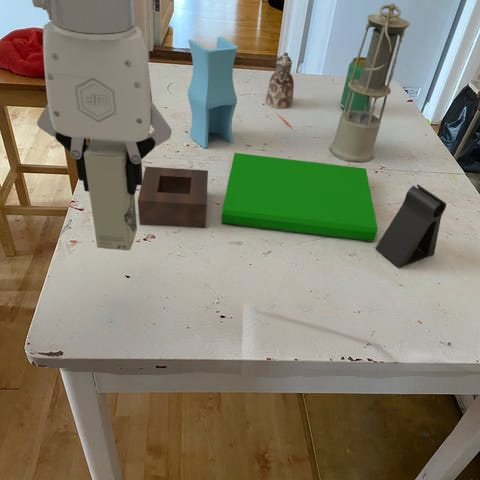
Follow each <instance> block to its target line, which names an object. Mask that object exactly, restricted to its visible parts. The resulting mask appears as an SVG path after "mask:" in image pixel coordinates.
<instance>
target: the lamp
mask: <svg viewBox="0 0 480 480" xmlns="http://www.w3.org/2000/svg"><path fill="white" fill-rule="evenodd" d="M387 9H388V10H387ZM384 10H387V12H385V11H384ZM394 11H396V12H397V14H395V12H394ZM401 15H402V10H401V9H400V7H399V6H397V5H396V4H395V3H390V4H385V5H382V6H380V8H379V13H375V14H369V15H367V24H366V26H365V32H364V35H363V39H362V42H361V45H360V47H359V50H358V53H357V56H356V57H357V59H356V63H355V68H354V71H353V76H352V78H351V81H350V82H349V83H348V86H349V88H350V91H349V95H348V98H347V102H346V106H345V109H344V110H343V111H342V113H341V114H340V116H339V121H338V125H337V128H336V132H335V134H334V139H333V142H332V143H331V144H330V146H329V149H330V151H331V154H333V155H334V156H335V157H337V158H339V159H340V160H343V161H349V162H367V161H368V162H369V161H371V160H372V159H373V158H374V155H375V151H374V148H375V144H376V142H377V138H378V134H379V130H380V127H381V123H382V118H383V114H384V111H385V106H386V102H387V98H388V96H389V95H390V94H391V93H392V90H391V88H390V83H391V81H392V79H393V76H394V72H395V67H396V65H397V58H398V53H399V50H400V47H401V44H402V42H403V38H404V35H405V31H406V29H407V28H409V27H410V25H411V24H410V22H409V21H408V20H406V19H404V18H401ZM370 28H373V29H372V35H371V40H370V43H369V45H368V46H369V47H368V50H367V54H366V56H365V57H366V61H365V65H364V67H363V70H362V73H361V76H360V79H359V80H353V79H354V76H355V72H356V68H357V65H358V61H359V58H360V57H361V55H362V51H363V48H364V45H365V41H366V38H367V35H368V31H369V29H370ZM353 42H355V40H353ZM397 42H398V44H397ZM396 46H397V48H396ZM395 50H396V51H395ZM394 53H395V56H394ZM393 57H394V59H393ZM392 60H393V61H392ZM391 64H392V65H391ZM390 67H391V68H390ZM389 70H390V73H389ZM388 74H389V76H388ZM387 78H388V79H387ZM386 81H387V84H386ZM352 91H353V94H352V99H351V102H350V105H349V109H348V111H347V107H348V104H349V100H350V96H351V92H352ZM354 93H359V94H361V95H368V98H367V102H366V106H365V110H364V111H355V110H351V106H352V102H353V96H354ZM370 96H371V97H372V99H373V98H374V99H373V104H372V109H371V111H370V110H367V111H366V109H367V106H368V103H369V99H370ZM380 98H383V101H382V106H381V109H380V113H379V116H376V115H374V112H375V109H376V107H375V106H376V103H377V100H378V99H380Z"/></svg>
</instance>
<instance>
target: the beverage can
mask: <svg viewBox="0 0 480 480" xmlns="http://www.w3.org/2000/svg"><path fill="white" fill-rule="evenodd" d="M366 57H367V56H365V57H364V56H360V58H359V61H358V65H357V68H356V72H355V76H354V79H353V80H359V79H360V76H361V73H362V70H363V67H364V65H365V61H366ZM356 59H357V56H356V57H353V58H352V61H350V63H349V65H348V68H347V75H346V78H345V82H344V85H343V91H342V95H341V99H340V106H341V110H343V111H344V109H345V106H346V102H347V98H348V95H349V91H350V88H349V86H348V83H349V82H350V81H351V78H352V76H353V71H354V68H355V63H356ZM352 94H353V91H352V92H351V96H350V100H349V104H348V107H347V111H348V109H349V105H350V102H351V99H352ZM367 98H368V95H361V94H359V93H354V96H353V102H352V106H351V110H355V111H364V110H365V106H366V102H367ZM372 101H373V97H371V96H370V99H369V103H368V106H367V109H366V111H369V109H370V108H371V104H372ZM341 104H342V105H343V106H344V107H343V106H342V105H341Z"/></svg>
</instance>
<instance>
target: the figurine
mask: <svg viewBox="0 0 480 480" xmlns="http://www.w3.org/2000/svg"><path fill="white" fill-rule="evenodd" d="M275 64H276V65H275V71H274V73H273V74H271V76H270V79H269V82H268V83H269V84H268V87H267V92H266V96H265V103H266V104H267V105H268V106H270V108H273V109H274V108H275V109H279V110H280V109H289V108H291V106H292V105H293V100H294V88H295V87H294V86H295V81H294V77H293V75H292V74H291V72H292V71H291V70H292V65H293V61H292V59H291V56H289V53H288V52H283V54H282V55H280V56H279V57H278V59H277V60H276V63H275Z"/></svg>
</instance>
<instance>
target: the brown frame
mask: <svg viewBox="0 0 480 480" xmlns="http://www.w3.org/2000/svg"><path fill="white" fill-rule="evenodd" d="M208 182H209V170H208V169H207V170H206V169H205V170H204V169H191V168H190V169H189V168H175V167H174V168H173V167H160V166H145V169H144V172H143V175H142V185H140V189H139V193H138V197H137V208H138V209H137V210H138V218H139V219H138V220H139V225H141V226H142V225H143V226H144V225H145V226H163V227H164V226H165V227H179V228H180V227H182V228H199V229H205V228H206V226H207V225H206V224H207V205H208V186H209V185H208V184H209V183H208Z"/></svg>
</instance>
